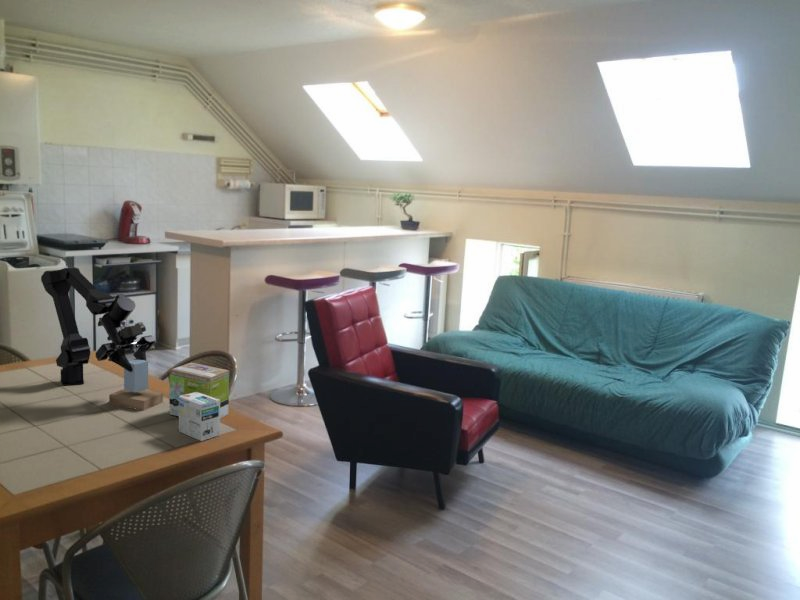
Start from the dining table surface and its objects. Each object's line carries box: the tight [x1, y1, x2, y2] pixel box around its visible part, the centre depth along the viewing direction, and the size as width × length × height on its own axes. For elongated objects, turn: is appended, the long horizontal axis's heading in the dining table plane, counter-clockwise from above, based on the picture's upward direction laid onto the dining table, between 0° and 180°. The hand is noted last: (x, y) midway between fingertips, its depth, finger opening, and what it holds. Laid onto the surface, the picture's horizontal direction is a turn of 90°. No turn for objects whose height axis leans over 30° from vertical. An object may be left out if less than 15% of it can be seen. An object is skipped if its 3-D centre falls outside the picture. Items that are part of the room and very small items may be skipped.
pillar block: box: [123, 358, 149, 392], centre depth 208 cm, size 5×5×9 cm
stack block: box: [108, 388, 164, 411], centre depth 209 cm, size 9×13×4 cm
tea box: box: [168, 361, 230, 419], centre depth 201 cm, size 15×10×15 cm, turn 68°
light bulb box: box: [178, 392, 221, 442], centre depth 187 cm, size 11×7×11 cm, turn 54°
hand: (138, 369), depth 207 cm, fingers closed on pillar block, 5 cm apart
